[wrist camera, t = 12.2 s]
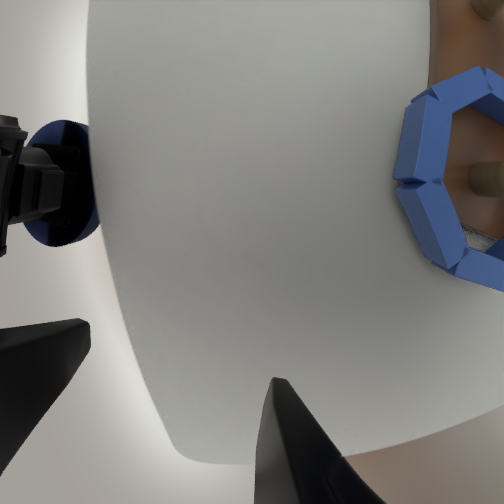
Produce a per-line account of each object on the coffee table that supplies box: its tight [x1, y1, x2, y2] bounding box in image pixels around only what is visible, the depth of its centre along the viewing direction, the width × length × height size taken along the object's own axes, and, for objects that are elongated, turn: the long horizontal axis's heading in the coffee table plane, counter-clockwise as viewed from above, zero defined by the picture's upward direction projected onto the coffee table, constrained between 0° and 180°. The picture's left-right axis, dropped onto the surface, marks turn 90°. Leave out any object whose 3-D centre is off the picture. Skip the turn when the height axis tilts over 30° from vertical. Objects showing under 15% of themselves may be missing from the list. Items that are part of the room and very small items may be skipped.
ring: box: [393, 66, 504, 292], centre depth 12 cm, size 12×12×3 cm
